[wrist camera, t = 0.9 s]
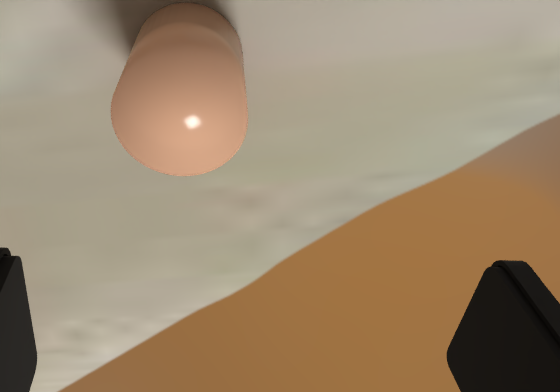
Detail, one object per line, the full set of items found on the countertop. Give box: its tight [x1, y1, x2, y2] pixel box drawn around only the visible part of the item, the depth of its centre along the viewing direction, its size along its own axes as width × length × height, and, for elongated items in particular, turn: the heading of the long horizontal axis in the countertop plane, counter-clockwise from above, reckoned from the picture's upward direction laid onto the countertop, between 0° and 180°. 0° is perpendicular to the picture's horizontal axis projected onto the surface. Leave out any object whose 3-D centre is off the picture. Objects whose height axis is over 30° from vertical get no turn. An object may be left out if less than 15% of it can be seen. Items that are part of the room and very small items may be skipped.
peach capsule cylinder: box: [111, 3, 248, 176], centre depth 31 cm, size 7×7×9 cm
